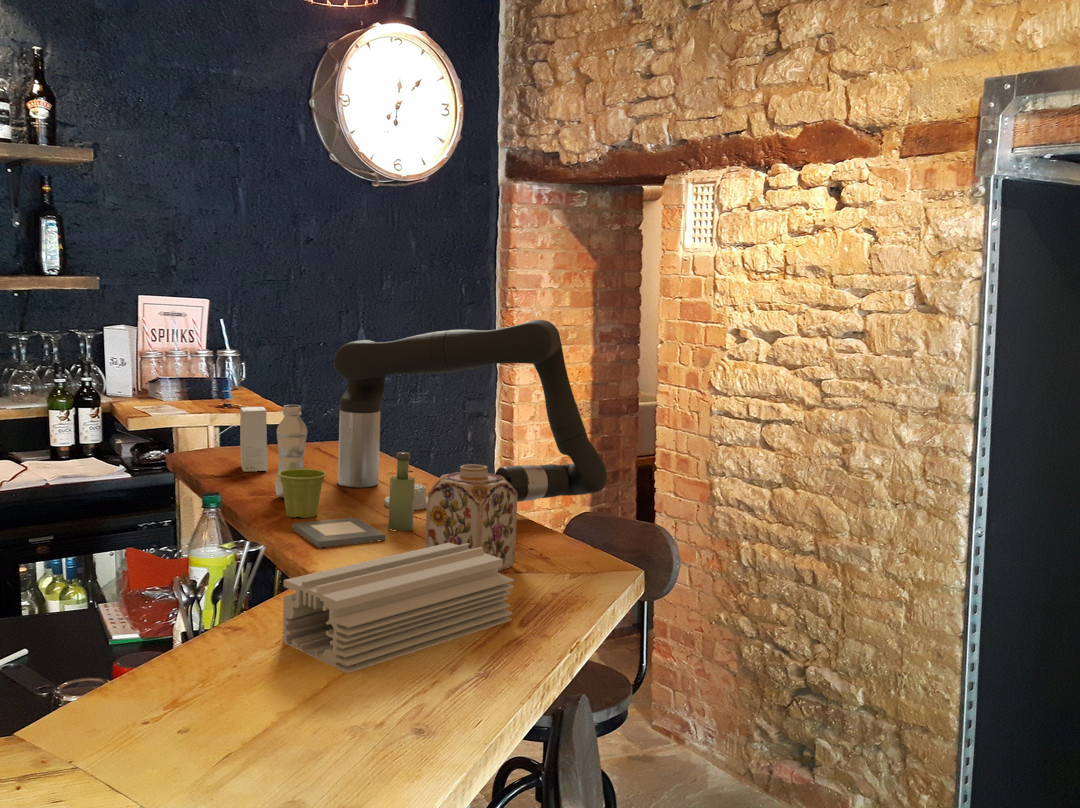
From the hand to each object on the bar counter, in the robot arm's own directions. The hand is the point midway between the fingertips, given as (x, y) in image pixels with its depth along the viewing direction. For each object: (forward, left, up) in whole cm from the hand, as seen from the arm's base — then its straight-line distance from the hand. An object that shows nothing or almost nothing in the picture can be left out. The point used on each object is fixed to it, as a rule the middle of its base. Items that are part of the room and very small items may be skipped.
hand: (452, 489), depth 210 cm
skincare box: (-64, -20, -7) cm, 67 cm away
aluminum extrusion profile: (+51, -35, -8) cm, 63 cm away
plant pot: (-17, -25, -7) cm, 31 cm away
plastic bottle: (-32, -22, -7) cm, 40 cm away
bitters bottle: (0, -11, -7) cm, 13 cm away
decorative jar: (+28, -11, -7) cm, 31 cm away
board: (0, -24, -7) cm, 25 cm away
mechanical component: (-17, -1, -7) cm, 19 cm away
